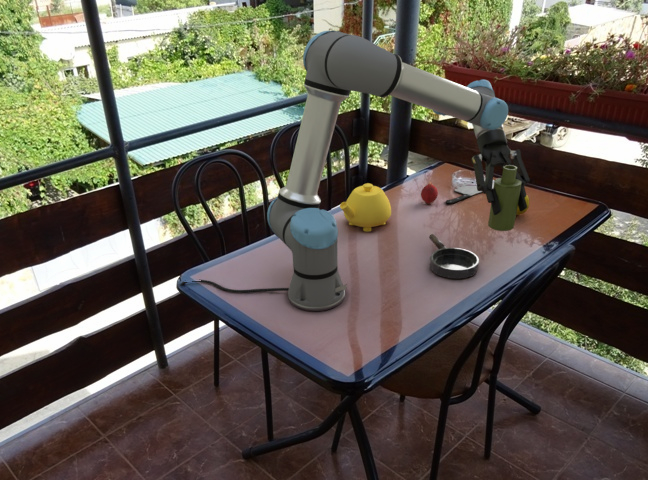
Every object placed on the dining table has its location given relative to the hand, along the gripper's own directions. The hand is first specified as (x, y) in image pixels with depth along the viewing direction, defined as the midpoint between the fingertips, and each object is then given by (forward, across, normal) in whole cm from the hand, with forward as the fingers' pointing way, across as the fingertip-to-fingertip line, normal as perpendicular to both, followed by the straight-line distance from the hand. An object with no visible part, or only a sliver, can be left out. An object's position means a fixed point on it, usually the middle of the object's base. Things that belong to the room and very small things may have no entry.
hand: (510, 211), depth 151 cm
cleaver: (-25, -15, -49) cm, 57 cm away
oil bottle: (+2, 0, -7) cm, 7 cm away
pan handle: (+1, +14, -20) cm, 24 cm away
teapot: (-14, +30, -37) cm, 50 cm away
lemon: (-8, -21, -32) cm, 39 cm away
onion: (-21, +3, -45) cm, 49 cm away
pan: (+11, +14, -13) cm, 22 cm away
